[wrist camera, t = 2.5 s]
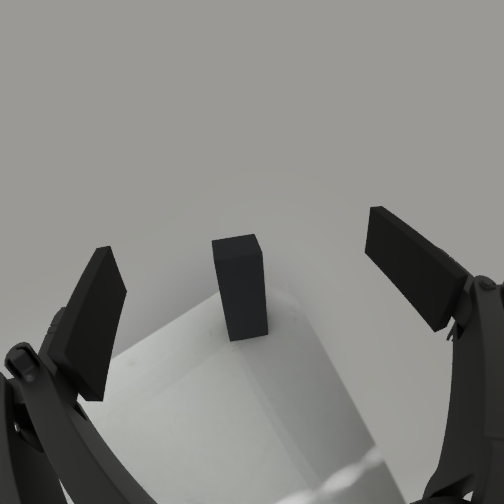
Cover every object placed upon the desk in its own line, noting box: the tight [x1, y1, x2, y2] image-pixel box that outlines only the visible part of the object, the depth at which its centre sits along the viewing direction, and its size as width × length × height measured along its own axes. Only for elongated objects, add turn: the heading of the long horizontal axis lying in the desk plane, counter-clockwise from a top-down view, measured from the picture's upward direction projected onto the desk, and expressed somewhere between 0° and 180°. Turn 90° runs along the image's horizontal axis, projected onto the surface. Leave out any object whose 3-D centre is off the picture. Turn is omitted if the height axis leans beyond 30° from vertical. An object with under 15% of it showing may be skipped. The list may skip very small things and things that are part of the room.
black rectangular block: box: [212, 234, 268, 341], centre depth 27 cm, size 4×4×10 cm
